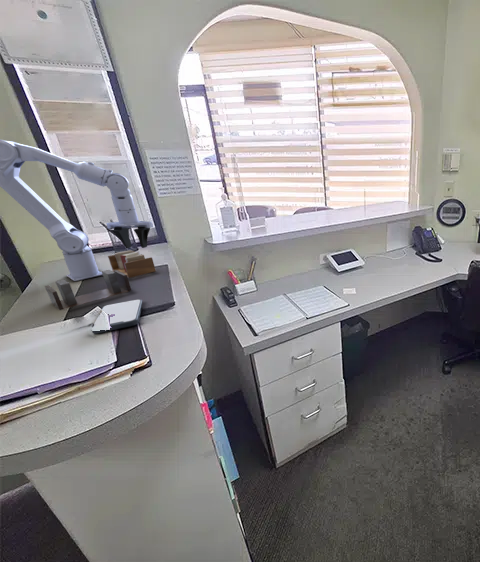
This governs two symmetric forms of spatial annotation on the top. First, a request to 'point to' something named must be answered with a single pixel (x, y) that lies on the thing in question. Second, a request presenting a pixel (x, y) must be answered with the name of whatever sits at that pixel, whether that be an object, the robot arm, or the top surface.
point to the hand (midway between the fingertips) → (136, 247)
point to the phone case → (123, 314)
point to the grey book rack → (115, 285)
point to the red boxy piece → (127, 256)
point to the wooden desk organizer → (132, 264)
